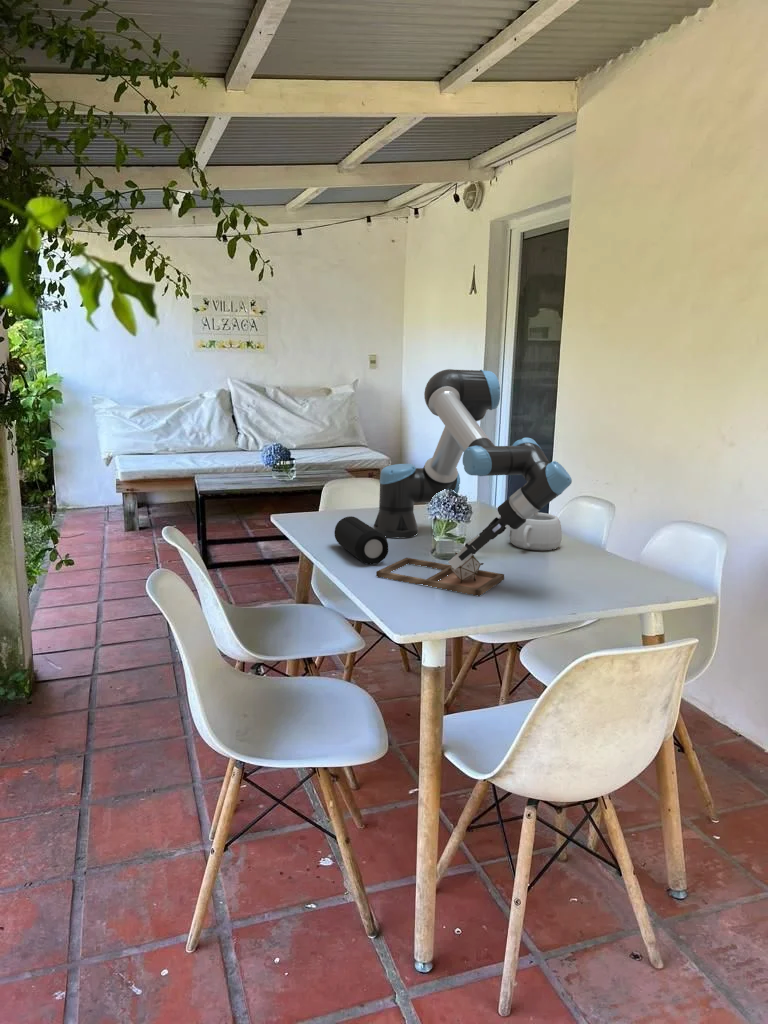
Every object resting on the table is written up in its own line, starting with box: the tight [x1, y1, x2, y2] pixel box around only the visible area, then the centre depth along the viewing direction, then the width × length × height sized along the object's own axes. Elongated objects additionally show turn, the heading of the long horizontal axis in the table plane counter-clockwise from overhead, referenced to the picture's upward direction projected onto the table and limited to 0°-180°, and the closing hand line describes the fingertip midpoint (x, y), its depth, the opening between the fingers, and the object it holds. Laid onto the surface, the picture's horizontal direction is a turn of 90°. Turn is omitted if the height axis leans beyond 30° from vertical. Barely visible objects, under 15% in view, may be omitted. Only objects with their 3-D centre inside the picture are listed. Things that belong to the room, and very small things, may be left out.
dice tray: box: [375, 557, 505, 597], centre depth 205 cm, size 30×18×2 cm, turn 61°
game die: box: [448, 551, 485, 583], centre depth 201 cm, size 9×8×10 cm
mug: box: [509, 511, 563, 551], centre depth 242 cm, size 21×17×10 cm
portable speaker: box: [334, 516, 389, 565], centre depth 225 cm, size 26×10×10 cm, turn 21°
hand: (457, 559), depth 201 cm, fingers open, 13 cm apart
